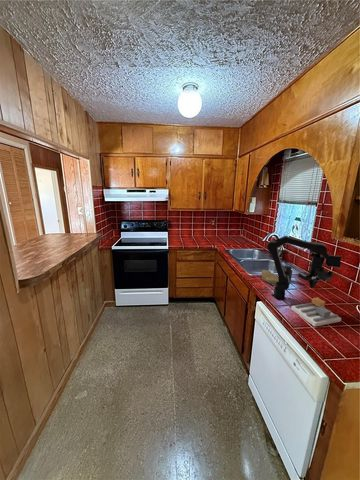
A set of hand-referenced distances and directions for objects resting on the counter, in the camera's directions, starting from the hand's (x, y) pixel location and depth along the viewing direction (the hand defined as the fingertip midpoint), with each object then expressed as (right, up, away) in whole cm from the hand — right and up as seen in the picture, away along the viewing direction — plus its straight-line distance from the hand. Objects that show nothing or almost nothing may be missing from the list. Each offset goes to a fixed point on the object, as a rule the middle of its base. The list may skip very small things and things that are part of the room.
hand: (312, 287), depth 120 cm
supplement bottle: (+4, -3, +36) cm, 36 cm away
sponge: (-10, -4, +33) cm, 35 cm away
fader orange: (+2, -11, -2) cm, 11 cm away
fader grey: (-2, -13, -11) cm, 17 cm away
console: (-3, -14, -6) cm, 16 cm away
